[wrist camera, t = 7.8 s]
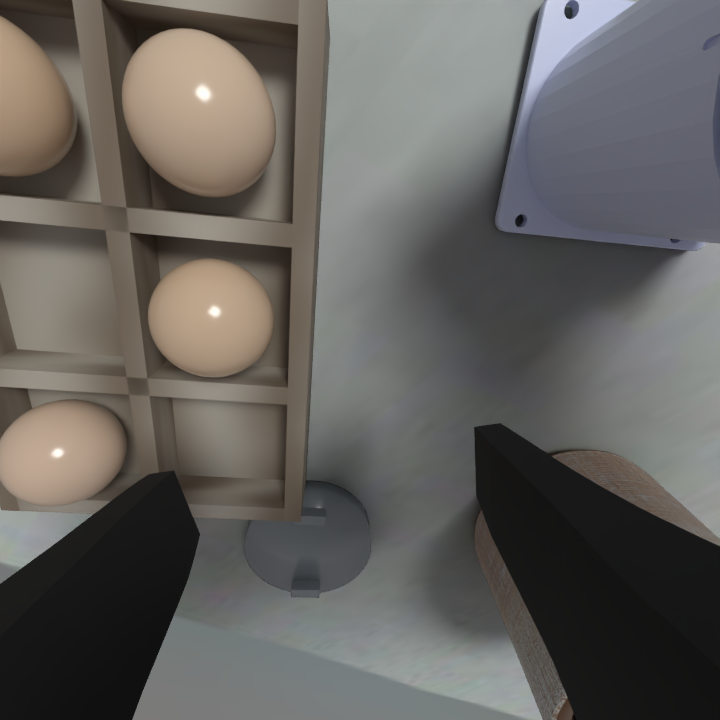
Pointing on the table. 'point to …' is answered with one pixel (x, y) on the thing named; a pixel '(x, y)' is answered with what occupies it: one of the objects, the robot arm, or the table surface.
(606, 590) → the robot arm
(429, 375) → the table surface
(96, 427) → the egg
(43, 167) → the egg
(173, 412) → the carton
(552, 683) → the planter
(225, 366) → the egg loose
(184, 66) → the egg
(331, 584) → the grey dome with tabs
